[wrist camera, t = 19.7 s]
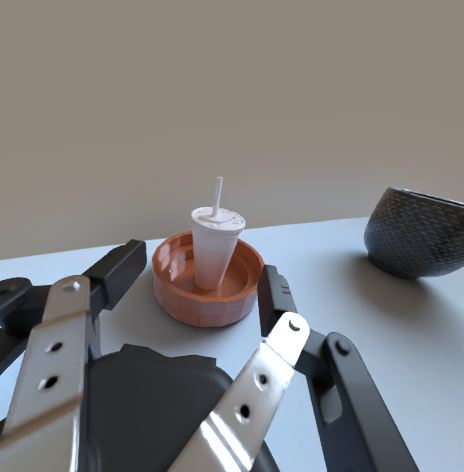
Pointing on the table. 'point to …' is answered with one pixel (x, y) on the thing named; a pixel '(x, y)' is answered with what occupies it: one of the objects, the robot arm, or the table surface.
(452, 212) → the planter
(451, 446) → the table surface
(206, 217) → the smoothie
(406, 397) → the table surface
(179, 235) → the bowl
